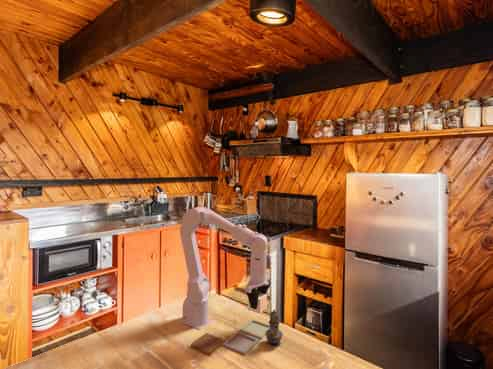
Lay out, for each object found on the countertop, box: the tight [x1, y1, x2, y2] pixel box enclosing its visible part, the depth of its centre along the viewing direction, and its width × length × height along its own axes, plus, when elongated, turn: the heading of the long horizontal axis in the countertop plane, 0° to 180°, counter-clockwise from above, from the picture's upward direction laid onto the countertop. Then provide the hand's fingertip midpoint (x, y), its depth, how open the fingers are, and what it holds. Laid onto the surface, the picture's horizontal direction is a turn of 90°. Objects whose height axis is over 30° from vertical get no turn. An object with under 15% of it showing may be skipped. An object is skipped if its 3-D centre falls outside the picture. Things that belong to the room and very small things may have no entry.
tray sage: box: [239, 318, 270, 340], centre depth 108 cm, size 9×9×1 cm
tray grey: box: [222, 330, 261, 356], centre depth 99 cm, size 9×9×1 cm
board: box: [190, 332, 226, 356], centre depth 98 cm, size 8×8×1 cm
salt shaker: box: [265, 309, 283, 348], centre depth 99 cm, size 6×6×12 cm
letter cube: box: [247, 293, 268, 314], centre depth 107 cm, size 5×5×5 cm
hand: (257, 305), depth 107 cm, fingers closed on letter cube, 5 cm apart
